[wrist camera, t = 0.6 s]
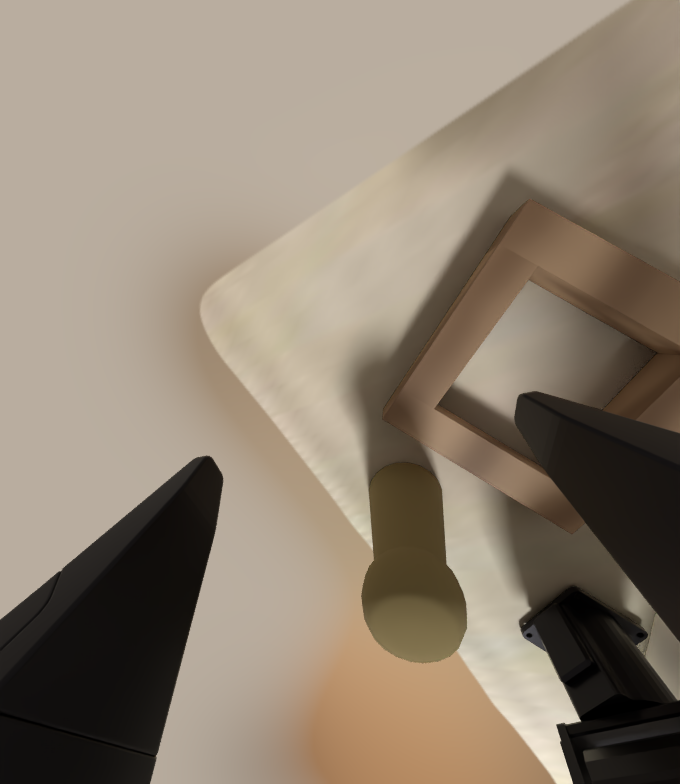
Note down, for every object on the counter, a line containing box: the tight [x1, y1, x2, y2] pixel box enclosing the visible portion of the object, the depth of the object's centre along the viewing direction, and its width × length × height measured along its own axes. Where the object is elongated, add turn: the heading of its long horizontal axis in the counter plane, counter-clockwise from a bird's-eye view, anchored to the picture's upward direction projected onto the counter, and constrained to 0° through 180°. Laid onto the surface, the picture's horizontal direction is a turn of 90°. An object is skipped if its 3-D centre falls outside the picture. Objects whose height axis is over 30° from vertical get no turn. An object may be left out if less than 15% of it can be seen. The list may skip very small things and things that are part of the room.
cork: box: [361, 463, 467, 663], centre depth 18 cm, size 6×6×11 cm
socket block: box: [382, 199, 680, 534], centre depth 18 cm, size 15×15×2 cm
